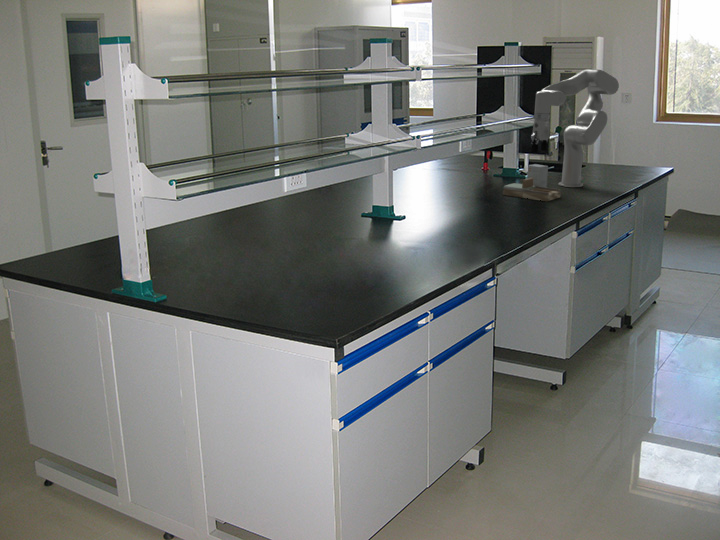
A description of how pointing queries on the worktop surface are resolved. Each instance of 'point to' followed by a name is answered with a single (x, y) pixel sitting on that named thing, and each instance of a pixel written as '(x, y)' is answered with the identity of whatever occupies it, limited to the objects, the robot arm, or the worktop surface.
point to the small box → (538, 174)
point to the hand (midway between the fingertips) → (539, 151)
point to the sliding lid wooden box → (533, 193)
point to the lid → (523, 184)
